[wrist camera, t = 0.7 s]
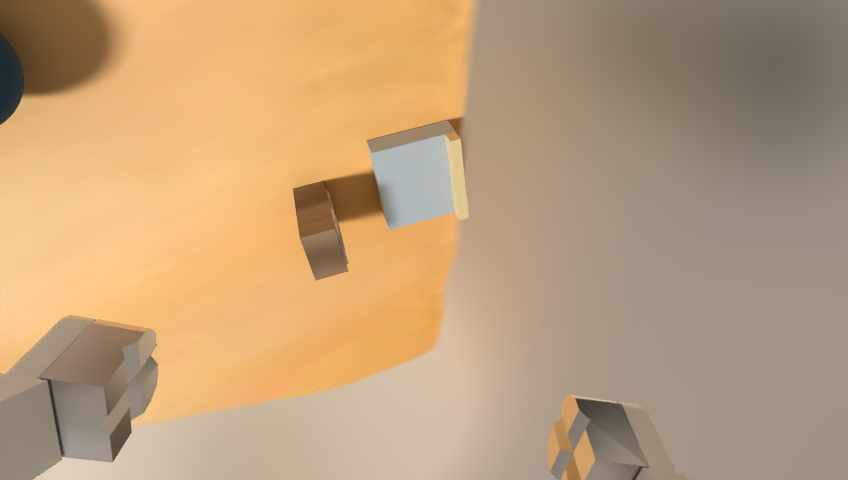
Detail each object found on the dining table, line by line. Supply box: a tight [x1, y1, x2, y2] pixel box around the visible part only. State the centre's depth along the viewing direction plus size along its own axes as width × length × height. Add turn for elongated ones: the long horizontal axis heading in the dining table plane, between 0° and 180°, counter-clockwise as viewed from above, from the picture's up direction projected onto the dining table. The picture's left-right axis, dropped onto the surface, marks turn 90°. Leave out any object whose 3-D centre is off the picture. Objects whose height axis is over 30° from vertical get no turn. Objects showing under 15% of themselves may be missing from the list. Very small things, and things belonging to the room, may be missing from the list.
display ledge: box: [367, 120, 469, 230], centre depth 51 cm, size 9×8×4 cm
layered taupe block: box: [293, 181, 348, 280], centre depth 49 cm, size 5×3×8 cm, turn 8°
